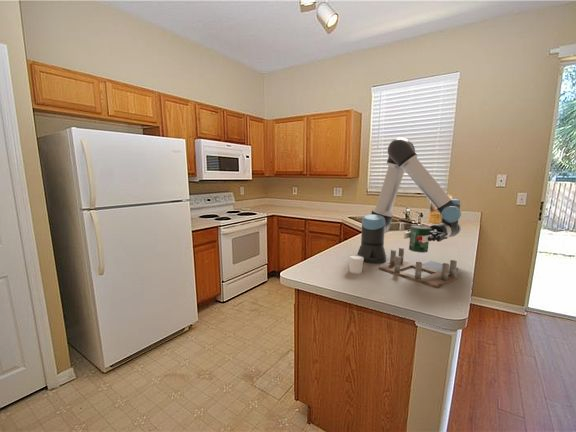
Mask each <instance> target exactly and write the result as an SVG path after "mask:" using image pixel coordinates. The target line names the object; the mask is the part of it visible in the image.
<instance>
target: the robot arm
mask: <svg viewBox="0 0 576 432" xmlns="http://www.w3.org/2000/svg"><path fill="white" fill-rule="evenodd" d="M387 155H388V158H387V161H386V164H387V165H388V168H387V170H386V173H385V177H384V181H383V183H382V187H381V189H380V193H379V196H378V199H377V202H376V205H375V208H373V209H372V210H371V213H370V214H366V215H365V216H363V217H362V218H361V219H362V221H361V237H360V240H361V241H360V246H359V248H358V251H357V254H356V255H358V256H362V257H364V260H363V263H364V262H365V263H368V264H371V263H372V264H380V263H381V264H382V263H384V262H386V261H387V254H386V249H385V246H384V245H385V234H387V233H388V232H389V230H390V228H391V224H392V220H393V217H394V215H393V213H392V210H393V208H394V204H395V201H396V198H397V196H398V192H399V188H400V185H401V182H402V180H403V176H404V175H405V174H404V173H405V172H406V174H407V175H408V176H409V178H410V179H411V180H412V181H413V182H414V183H415V185H416V186H417V187H418V189H420V191H421V192H422V193H423V195H424V196H425V197H426V199H427V200H428V201H429V203H430V202H431V203H432V204H433V205H434V207H435V208H436V209H437V211H438V212H439V213H440V214H441V216H442V219H441V224H437V223H435V224H432V225H430V226H429V227H430V234H429V235H426V236H422V243H425V242H435V241H436V242H437V243H440V242H442V241H444V240H447V239H448V238H452V237H455V236H457V235H459V233H460V232H461V230H462V228H461V225H460V224H459V220H460V217H461V216H462V212H461V210H460V208H461V200H460V199H456V198H453V199H450V198H449V196H448V195H447V194H448V193H447V192H446V191H445V190H444V189H443V188H442V187H441V185H440V184H439V183H438V182H437V180H436V179H435V178H434V177H433V176H432V175H431V173H430V172H429V171H428V169H426V167H425V166H424V165H423V164H422V163H421V161H420V160H419V159H418V154H417V152H416V148H415V146H414V144H413V143H412V142H411V141H410V140H409V139H407V138H404V137H398V138H395V139H393V140H392V141H391V142H390V143H389V145H388V147H387ZM410 233H411V229H407V231H405V232H404V233H403V239H410Z"/></svg>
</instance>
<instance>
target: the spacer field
mask: <svg viewBox="0 0 576 432" xmlns="http://www.w3.org/2000/svg"><path fill="white" fill-rule="evenodd" d="M404 253H405V248H403V247H398V255H397V250H395V249H391V250H390V257H389V258H390V259H389V263H386V264H383V265H380V266H378V269H379V270H382V271H384V272H386V273H387V272H388V273H390V274H393V275H395V276H396V275H397V276H400V277H402V278H405V279H408V280H411V281H415V282H417V283H421V284H423V285H427V286H430V287H433V288H436V289H439V288H440V287H443V286H445V285H447V284H449V283H451V282H454V281H455V280H458V277H459V276H457V275H456V272H457V270H456V267H457V261H456V260H454V259H453V260H452V259H451V260H450V262H449V263H447V262H443V263H442V264H443V265H442V272H441V271H437V270H433V269H430V268H426V267H423V266H422V264H423V262H421V261H416V262H415V263H412V262H410V261H409V262H408V261H406V260H405V261H404V255H405V254H404ZM396 255H397V256H396ZM449 266H450V270H449ZM410 268H413V269H415V270H414V271H415V272H414V275H413V274H411V273H408V272H404V271H406V270H408V269H410ZM422 271H423V272H426V273H430V274H429V275H426V276H424V277H422ZM448 271H449V273H448Z"/></svg>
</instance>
